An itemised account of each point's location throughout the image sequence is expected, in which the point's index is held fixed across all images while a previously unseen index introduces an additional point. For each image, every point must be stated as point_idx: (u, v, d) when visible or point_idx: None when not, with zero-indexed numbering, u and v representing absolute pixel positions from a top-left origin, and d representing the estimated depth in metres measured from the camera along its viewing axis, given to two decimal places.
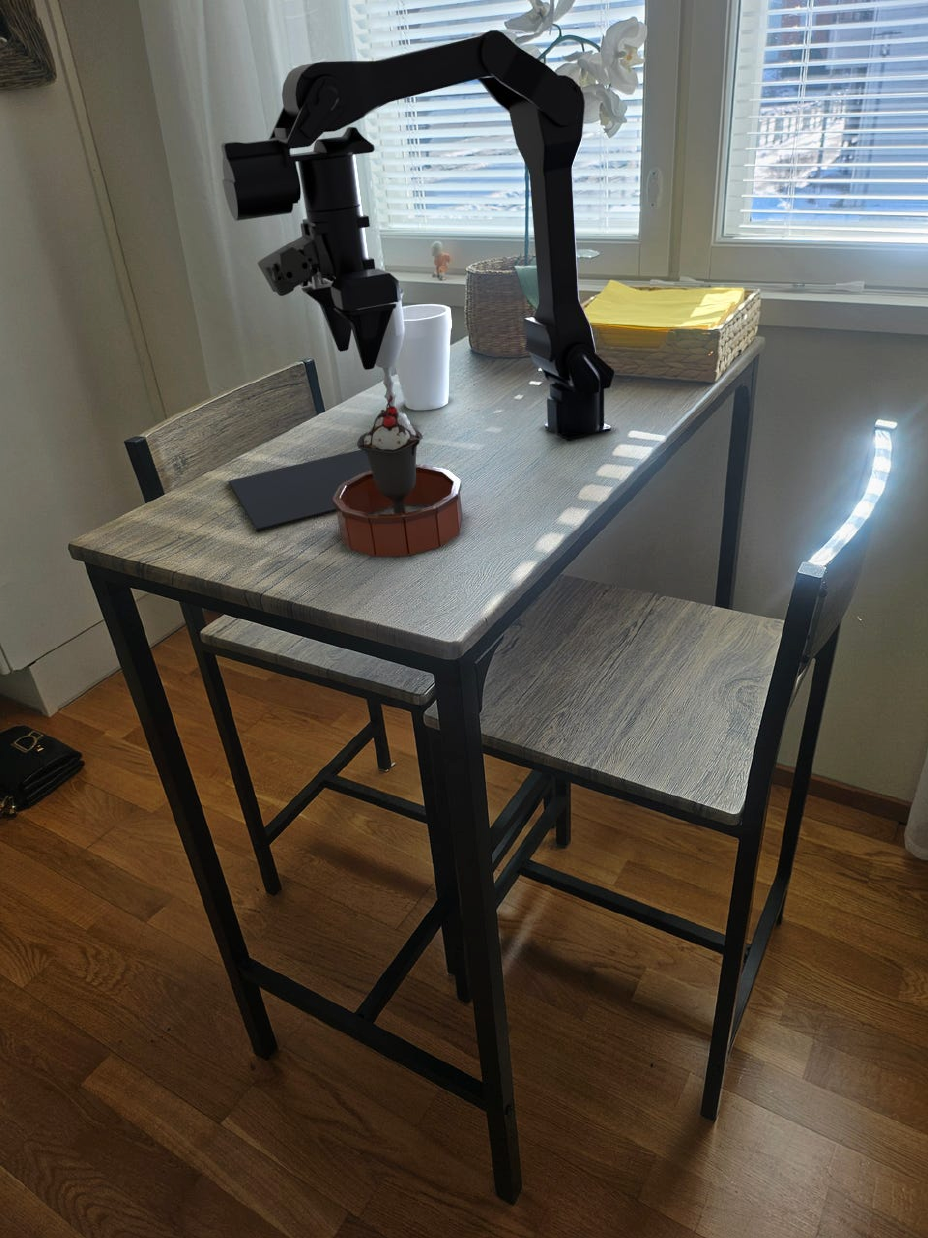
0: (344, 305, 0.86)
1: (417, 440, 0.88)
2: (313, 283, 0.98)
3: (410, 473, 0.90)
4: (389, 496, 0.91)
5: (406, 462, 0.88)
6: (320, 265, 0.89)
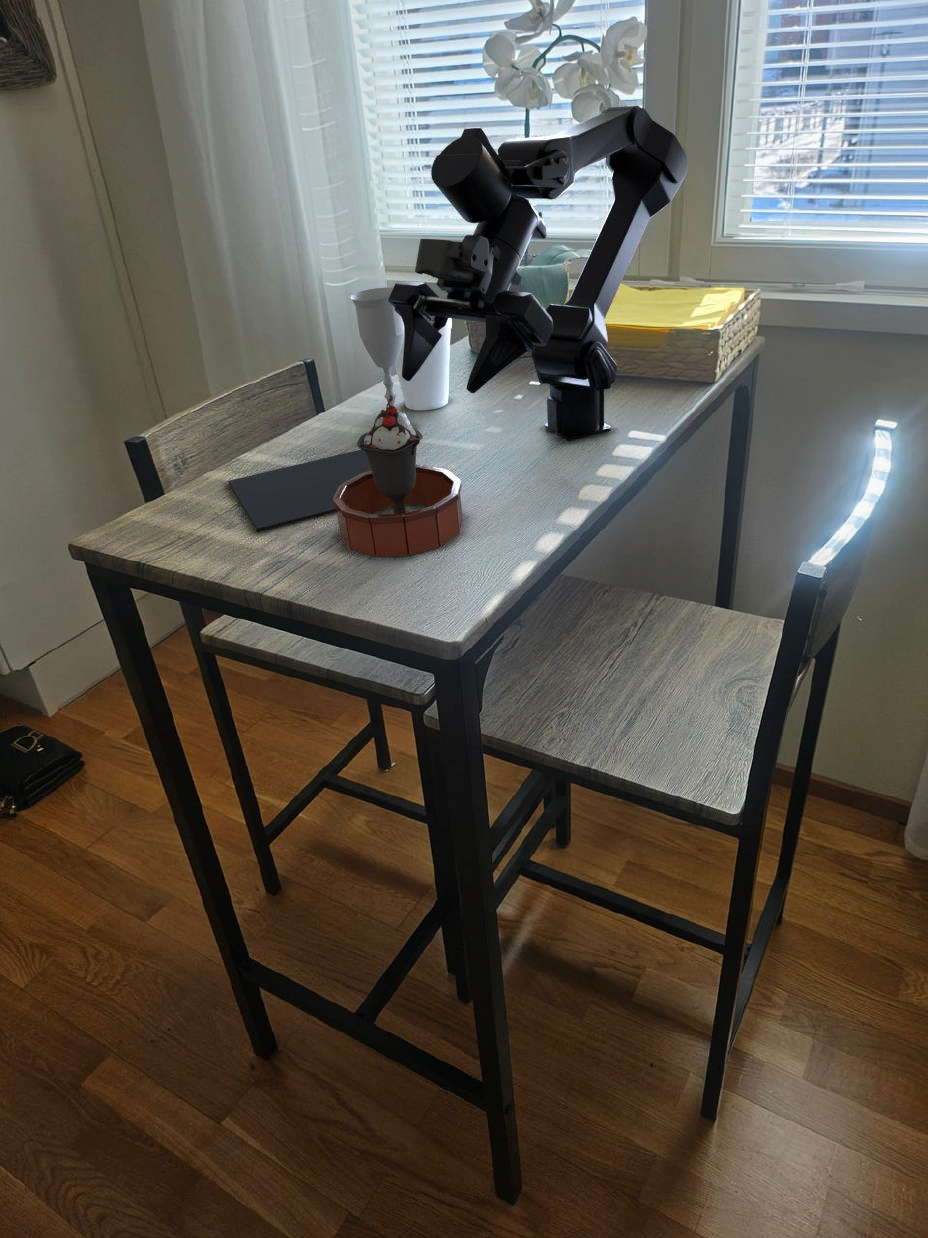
0: (520, 309, 0.85)
1: (417, 440, 0.88)
2: (416, 304, 0.94)
3: (410, 473, 0.90)
4: (389, 496, 0.91)
5: (406, 462, 0.88)
6: (483, 277, 0.88)
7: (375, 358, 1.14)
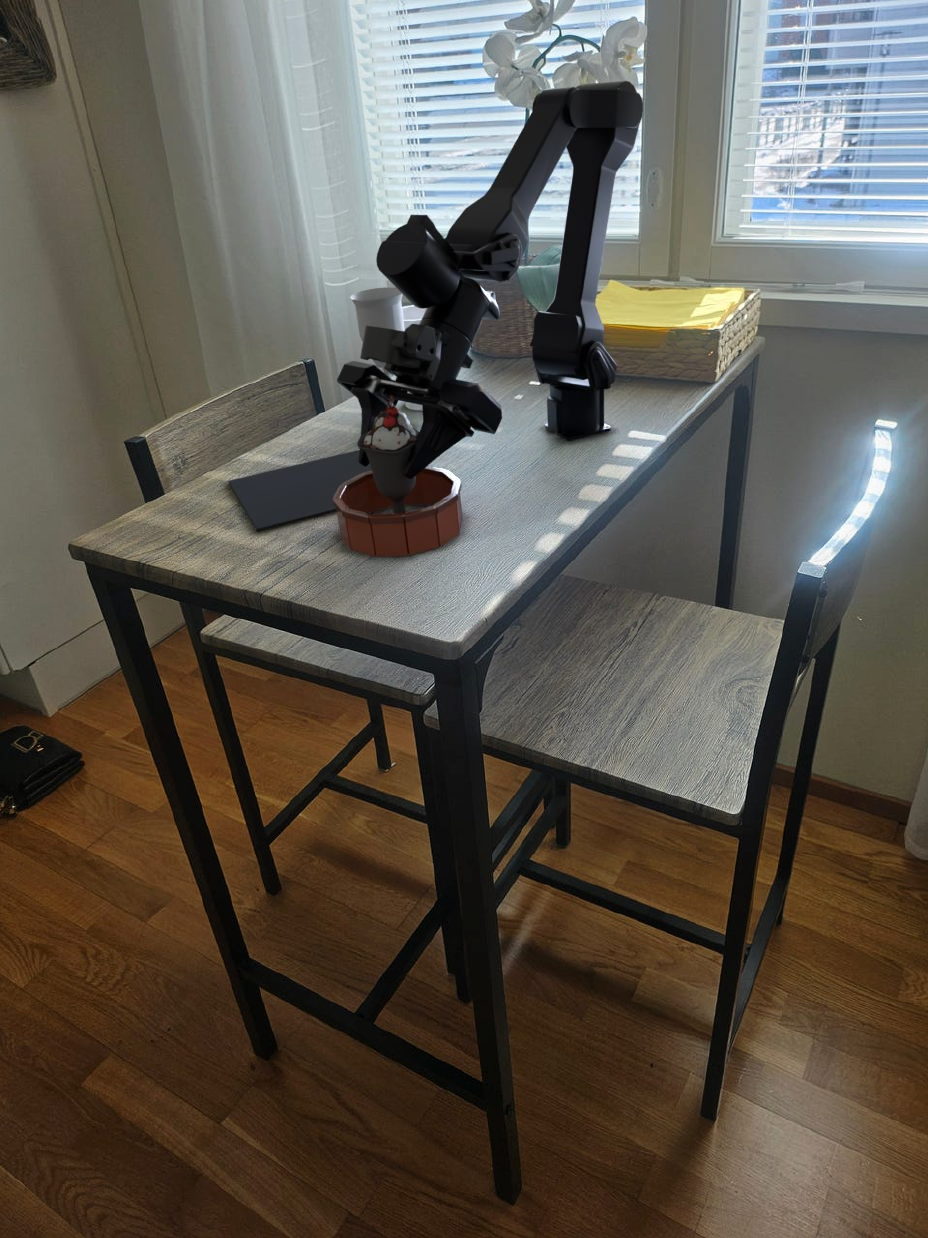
0: (466, 401, 0.83)
1: None
2: (374, 388, 0.91)
3: None
4: (389, 496, 0.91)
5: (406, 462, 0.88)
6: (430, 364, 0.86)
7: None
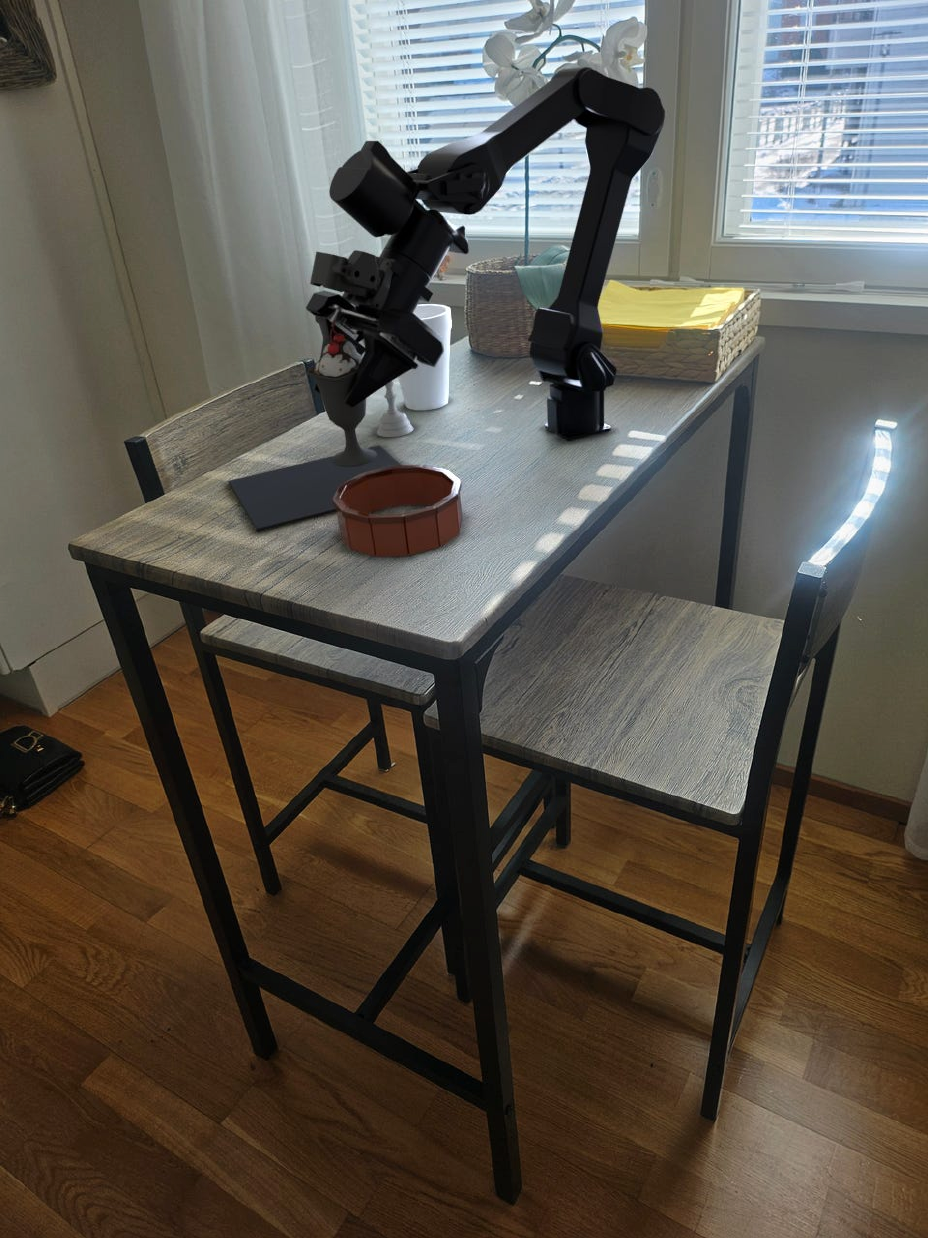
0: (396, 329, 0.83)
1: None
2: (334, 317, 0.93)
3: None
4: (337, 424, 0.93)
5: None
6: (377, 293, 0.87)
7: None
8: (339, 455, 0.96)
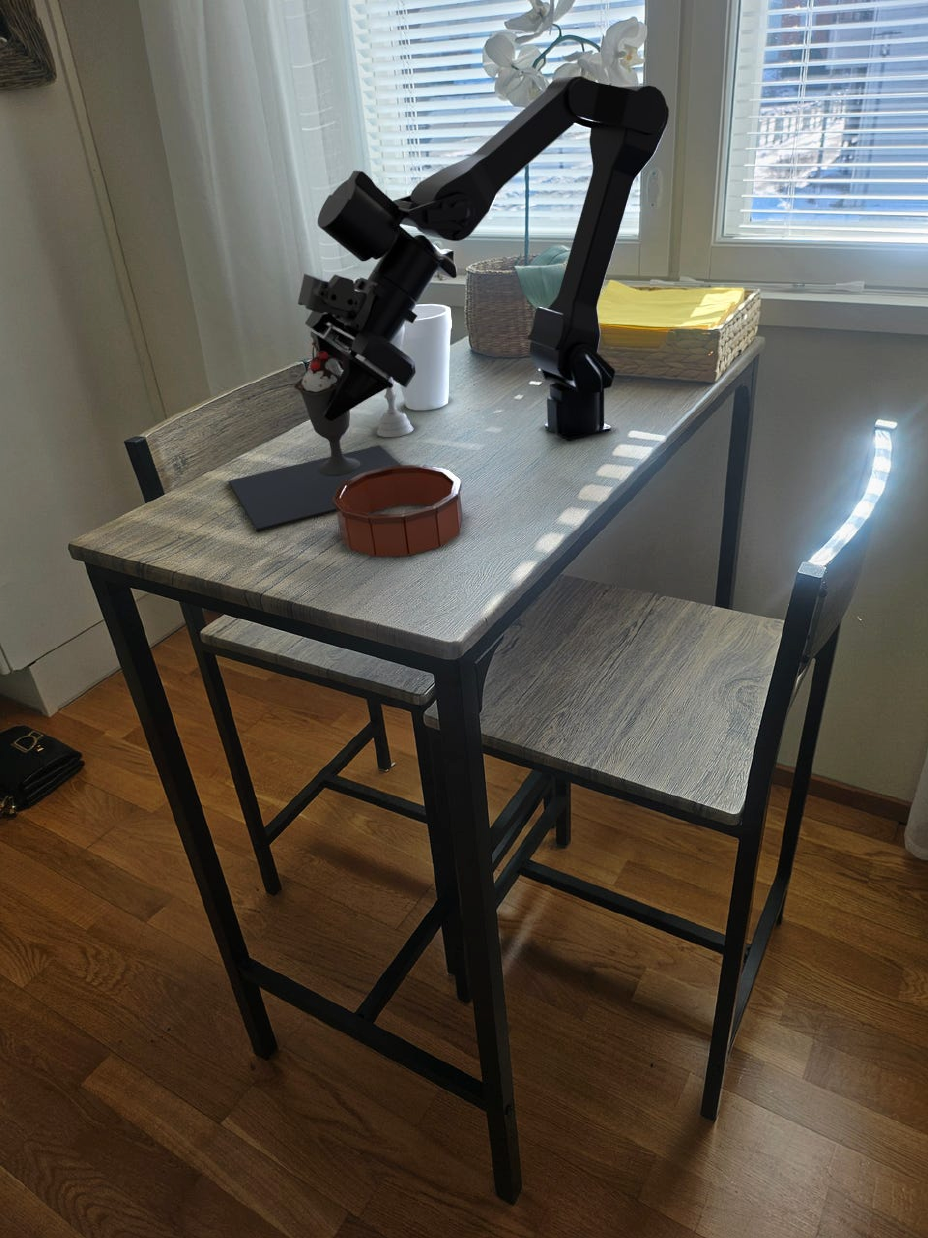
0: (365, 351, 0.87)
1: None
2: (327, 334, 0.98)
3: None
4: (321, 435, 0.98)
5: None
6: (357, 314, 0.92)
7: None
8: (325, 464, 1.01)
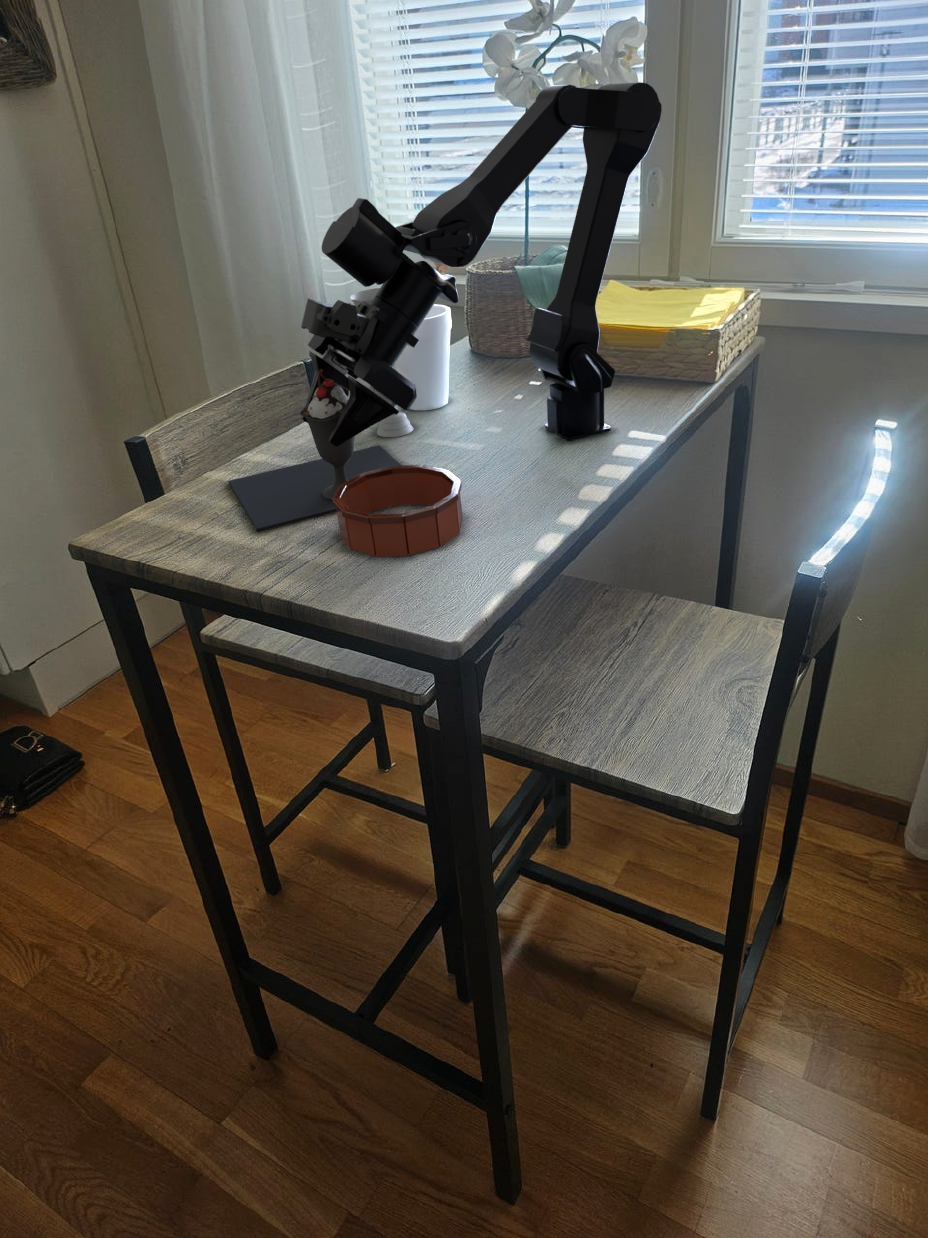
0: (367, 376, 0.89)
1: None
2: (325, 354, 1.00)
3: None
4: (326, 461, 1.00)
5: None
6: (360, 339, 0.93)
7: None
8: (329, 488, 1.03)
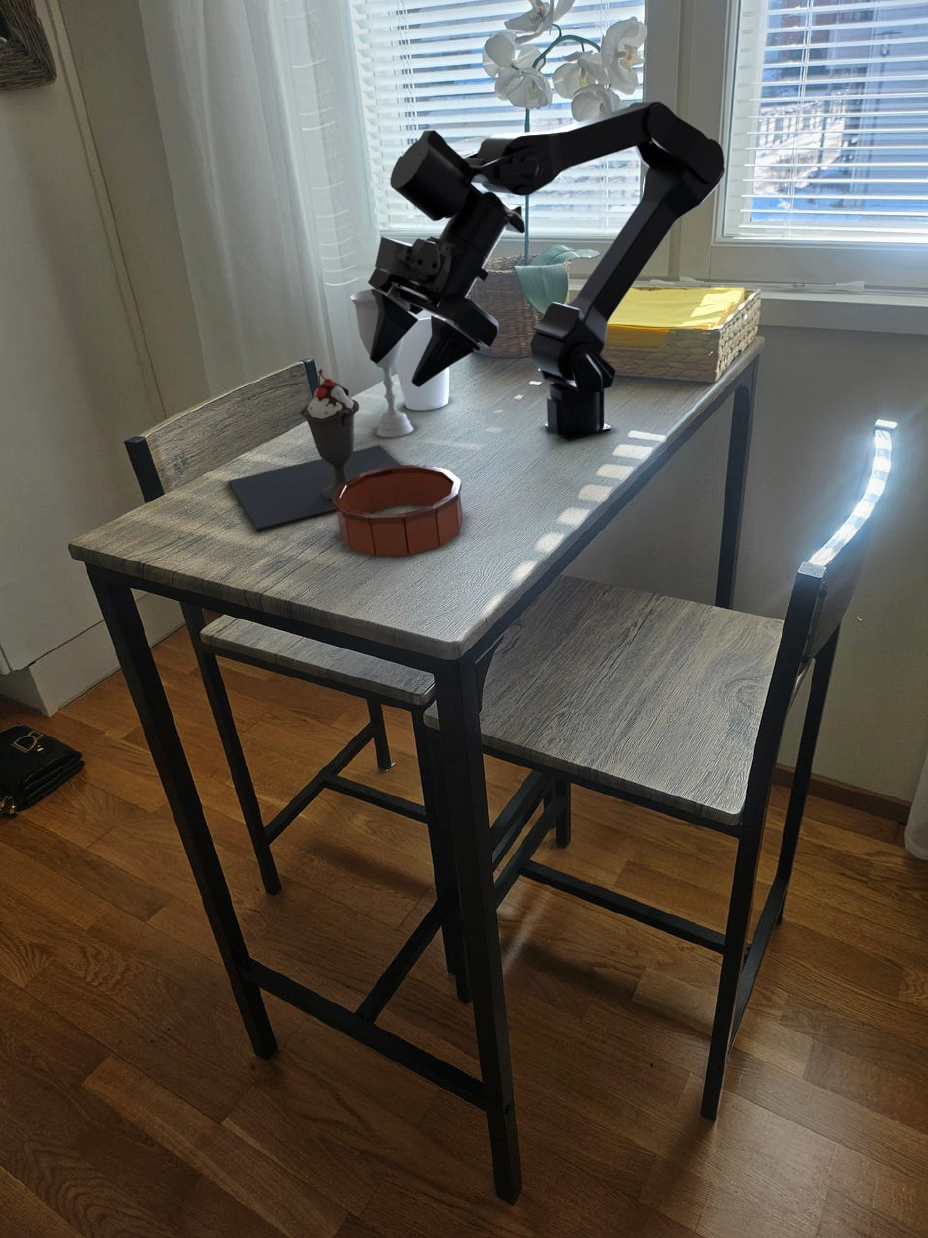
0: (456, 316, 0.89)
1: (345, 413, 0.95)
2: (389, 291, 1.00)
3: (341, 442, 0.98)
4: (326, 461, 1.00)
5: (335, 431, 0.97)
6: (437, 276, 0.93)
7: None
8: (329, 488, 1.03)
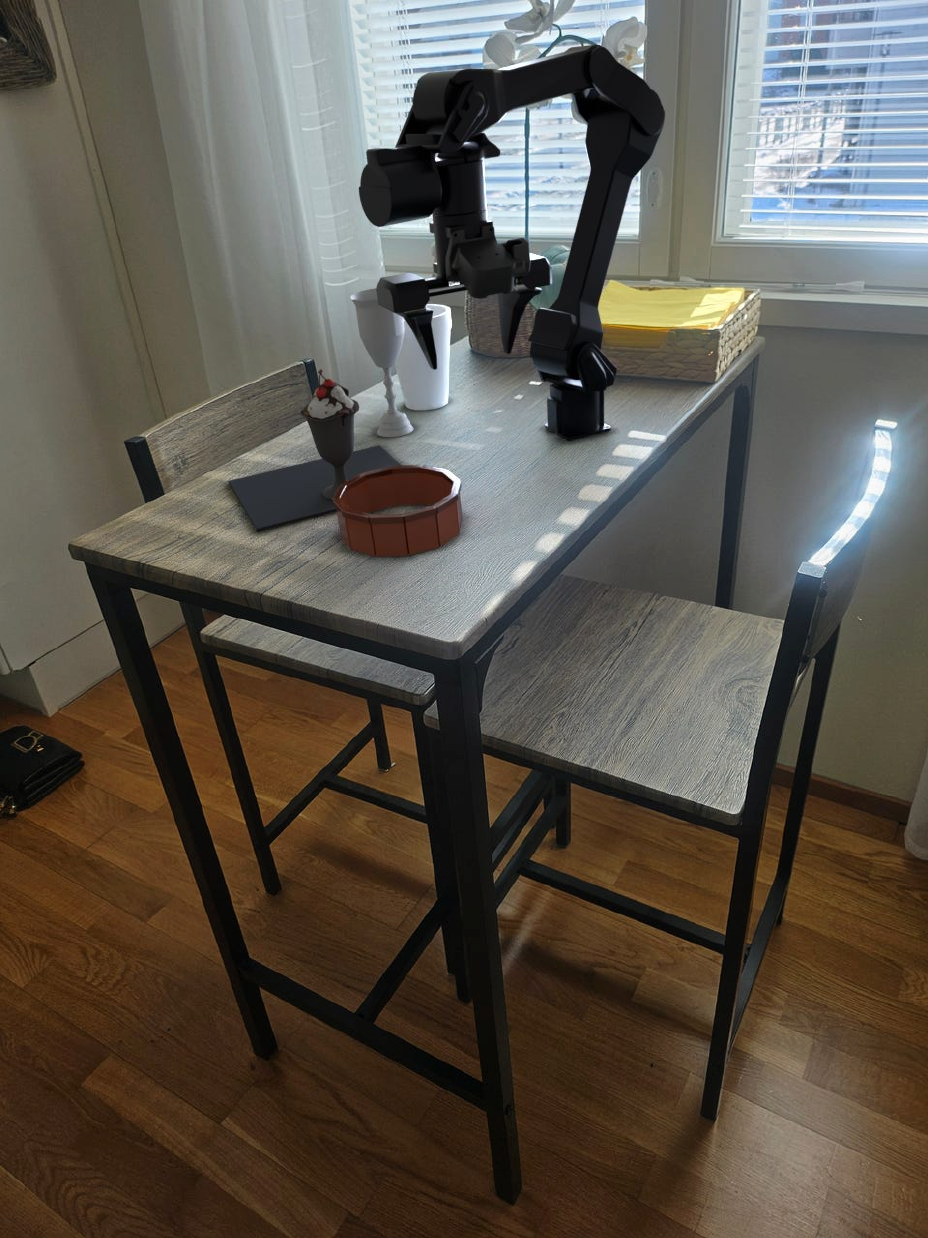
0: (550, 279, 0.96)
1: (345, 413, 0.95)
2: None
3: (341, 442, 0.98)
4: (326, 461, 1.00)
5: (335, 431, 0.97)
6: None
7: (375, 358, 1.14)
8: (329, 488, 1.03)
